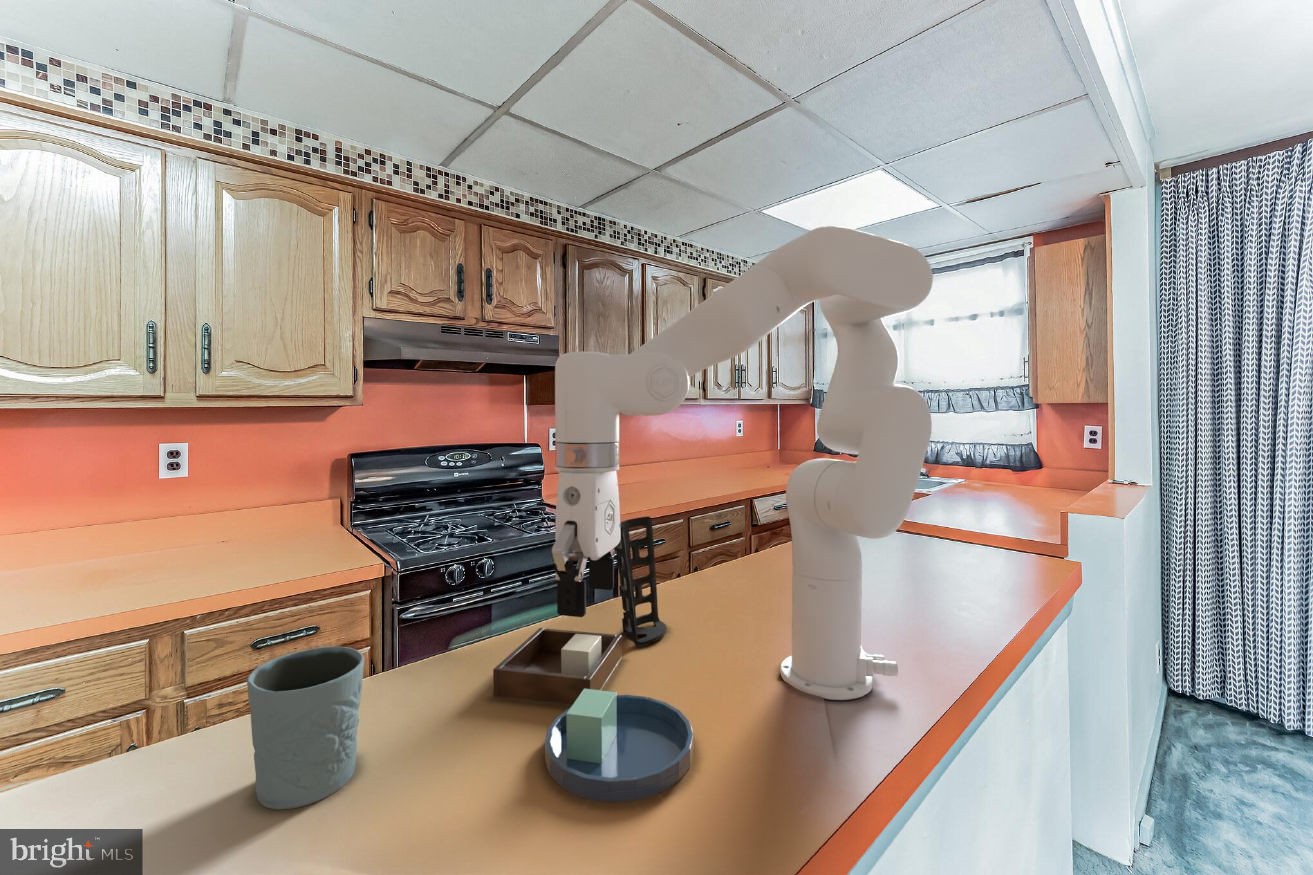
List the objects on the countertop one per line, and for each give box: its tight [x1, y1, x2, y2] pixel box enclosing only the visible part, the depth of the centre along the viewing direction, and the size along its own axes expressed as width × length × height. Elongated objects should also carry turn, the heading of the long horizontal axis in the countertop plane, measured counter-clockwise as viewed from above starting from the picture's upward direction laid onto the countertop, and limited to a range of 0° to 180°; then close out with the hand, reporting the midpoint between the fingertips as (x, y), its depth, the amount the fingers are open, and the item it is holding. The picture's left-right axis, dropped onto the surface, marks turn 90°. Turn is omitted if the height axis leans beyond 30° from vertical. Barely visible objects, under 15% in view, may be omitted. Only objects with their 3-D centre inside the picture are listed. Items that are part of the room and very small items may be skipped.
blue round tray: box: [544, 694, 695, 803], centre depth 60 cm, size 16×16×2 cm
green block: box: [566, 689, 618, 764], centre depth 60 cm, size 4×6×5 cm
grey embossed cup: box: [246, 645, 365, 811], centre depth 55 cm, size 10×10×12 cm
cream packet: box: [561, 634, 601, 676], centre depth 76 cm, size 4×6×5 cm
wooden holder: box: [492, 627, 623, 706], centre depth 77 cm, size 14×15×4 cm
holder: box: [615, 516, 668, 648], centre depth 93 cm, size 11×8×20 cm
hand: (587, 600), depth 64 cm, fingers open, 9 cm apart
